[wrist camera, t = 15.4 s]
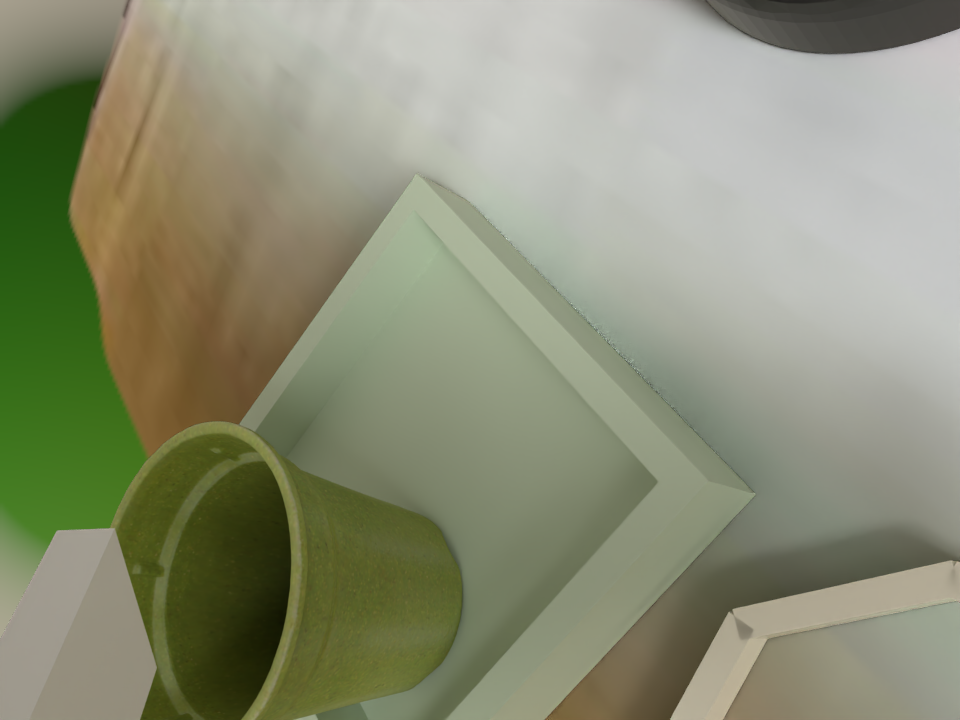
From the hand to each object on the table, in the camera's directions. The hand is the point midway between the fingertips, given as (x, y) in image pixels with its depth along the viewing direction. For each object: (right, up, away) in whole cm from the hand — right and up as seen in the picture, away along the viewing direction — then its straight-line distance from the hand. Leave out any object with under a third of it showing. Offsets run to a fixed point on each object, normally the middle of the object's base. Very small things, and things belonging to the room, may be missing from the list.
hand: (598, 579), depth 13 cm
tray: (-3, -2, +20) cm, 20 cm away
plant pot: (-4, -5, +19) cm, 20 cm away
